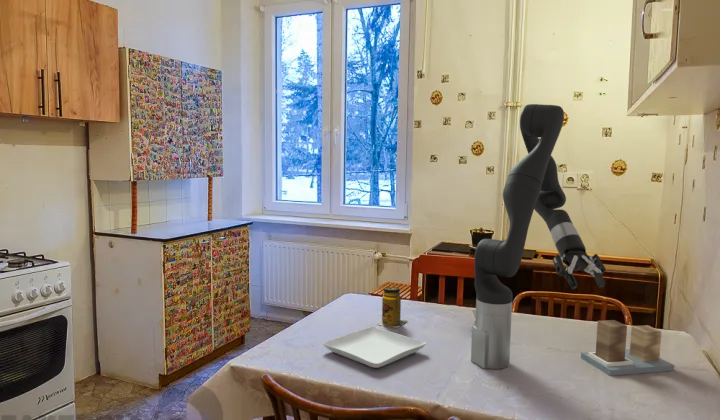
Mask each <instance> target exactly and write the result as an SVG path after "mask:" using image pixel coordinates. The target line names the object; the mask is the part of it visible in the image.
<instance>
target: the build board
mask: <svg viewBox="0 0 720 420" xmlns="http://www.w3.org/2000/svg"><path fill="white" fill-rule="evenodd" d="M580 359H582V360H584V361H586V362H587V363H589V364H590V365H592V366H593V367H595V368H597V369H599V370H600V371H602V372H604V373H605V374H607V375H608V376H610V377H611V376H625V375H636V374H637V375H638V374H650V373H651V374H652V373H664V372H674V371H675V367H676V366H675V364H673V363H671V362H669V361H667V360H665V359H663V358H661V357H659V360H657V361H644V362H643V361H641V360H639V359H637V358H635V357H633V356H632V355H630V348H629V349H627V348H626V349H625V361H621V362H606V361H604V360H603V359H601V358H599V357H597V356H596V351H586V352H585V351H584V352H580Z"/></svg>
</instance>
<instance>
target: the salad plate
mask: <svg viewBox="0 0 720 420" xmlns="http://www.w3.org/2000/svg"><path fill="white" fill-rule="evenodd" d="M322 345H323V346H324V347H325V348H326V349H327V350H329V351H331V352H333V353H335V354H336V355H340V356H342V357H345V358H347V359H350V360H352V361H355V362H357V363H360V364H363V365H366V366H368V367H370V368H374V369H375V368H381V367H383V366H386V365H388V364H389V365H390V364H392V363H394V362H396V361H398V360H400V359H403V358H405V357H408V356H409V355H412V354H414V353H416V352H418V351H420V350H421V349H423V348H424V347H425V346H426V345H427V343H426V342H425V341H421V340H419V339H416V338H412V337H409V336H406V335H403V334H399V333H396V332H394V331H389V330H386V329H382V328H380V327H376V326H370V327H369V326H368V327H366V328H361V329H359V330H356V331H352V332H349V333H347V334H344V335H341V336H338V337H335V338H332V339H330V340H327V341H324V342H322Z"/></svg>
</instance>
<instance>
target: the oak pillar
mask: <svg viewBox="0 0 720 420" xmlns="http://www.w3.org/2000/svg"><path fill="white" fill-rule="evenodd" d="M661 343H662V331H661V330H659V329H657V328H654V327H652V326H651V325H648V324H647V325H632V326H631V330H630V345H629V346H630V347H629V349H630V355H632V356H633V357H635V358H637V359H639V360H641V361H643V362H644V361H657V360H659V358H661V357H660V354H661Z"/></svg>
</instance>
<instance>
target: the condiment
mask: <svg viewBox="0 0 720 420" xmlns="http://www.w3.org/2000/svg"><path fill="white" fill-rule="evenodd" d="M401 299H402V297H401V290H400V288H399V287H396V286H386V287H384V288H383V296H382V299H381V300H382V301H381V306H382V307H381V311H382V312H381V314H382V315H381V322H380V323H377V325H379V326H382V327H388V328H395V329H398V328H400V327H401V326H403V325H404V324H405V323H407V321H408V320H406V319H405V320H404V319H401V312H402V311H401V305H402V304H401V303H402V302H401V301H402V300H401Z"/></svg>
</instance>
